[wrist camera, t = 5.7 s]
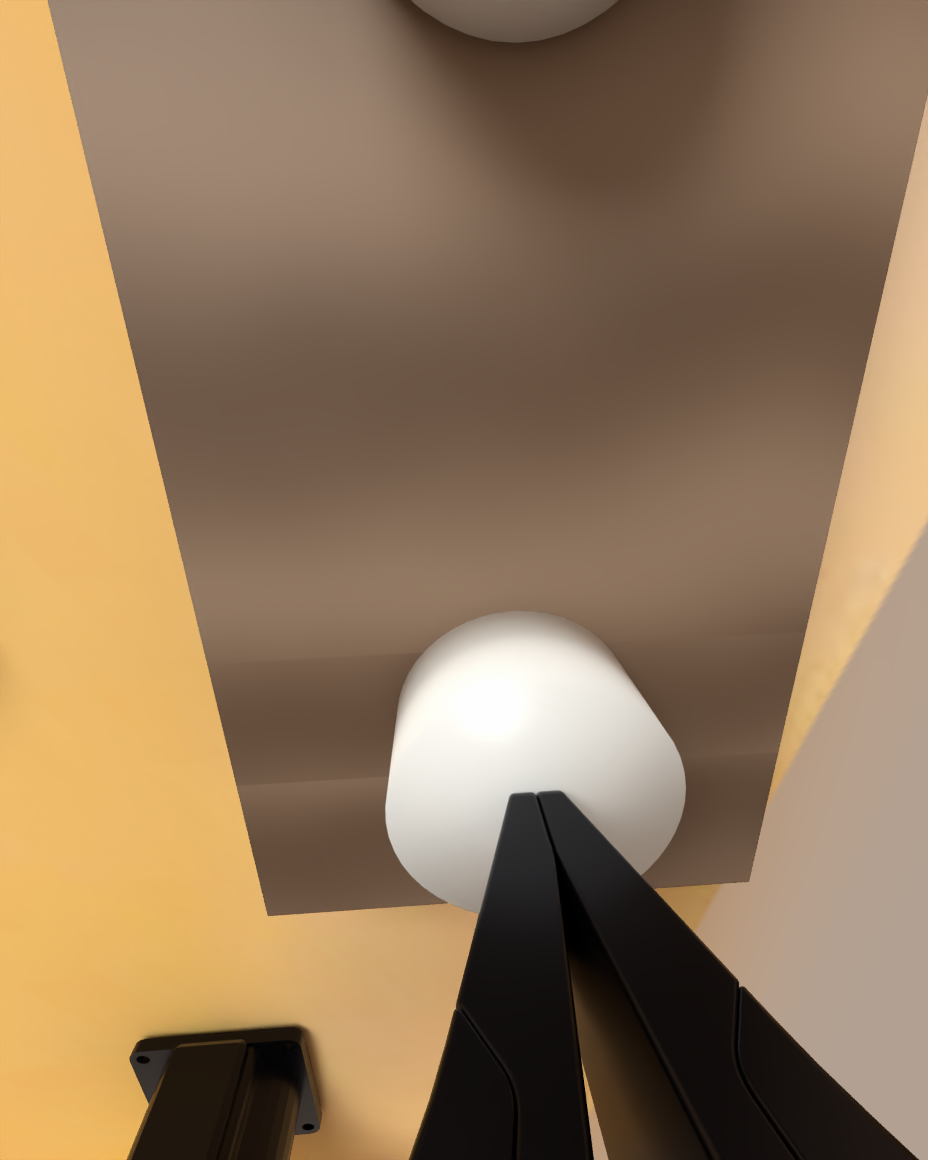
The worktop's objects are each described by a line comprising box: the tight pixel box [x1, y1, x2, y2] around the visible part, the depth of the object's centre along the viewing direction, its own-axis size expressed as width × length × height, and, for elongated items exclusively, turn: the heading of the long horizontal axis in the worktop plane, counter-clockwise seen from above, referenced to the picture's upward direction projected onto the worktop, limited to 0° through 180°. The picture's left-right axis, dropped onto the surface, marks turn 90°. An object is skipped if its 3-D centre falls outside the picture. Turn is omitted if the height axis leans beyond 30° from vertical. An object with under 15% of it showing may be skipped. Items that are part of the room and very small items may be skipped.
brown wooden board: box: [48, 0, 928, 916], centre depth 10 cm, size 24×12×4 cm, turn 2°
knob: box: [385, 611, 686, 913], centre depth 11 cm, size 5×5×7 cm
